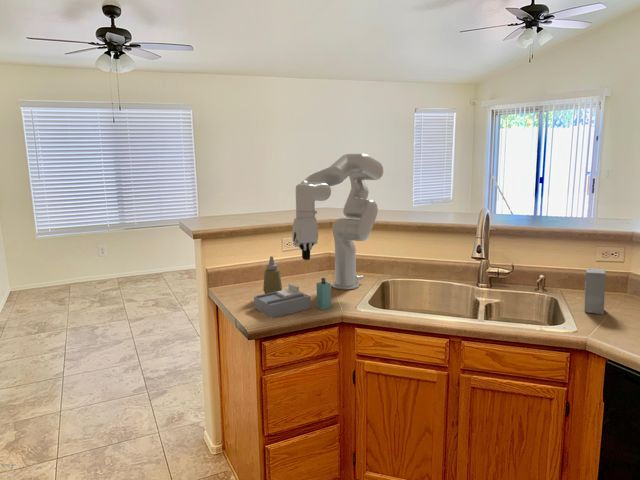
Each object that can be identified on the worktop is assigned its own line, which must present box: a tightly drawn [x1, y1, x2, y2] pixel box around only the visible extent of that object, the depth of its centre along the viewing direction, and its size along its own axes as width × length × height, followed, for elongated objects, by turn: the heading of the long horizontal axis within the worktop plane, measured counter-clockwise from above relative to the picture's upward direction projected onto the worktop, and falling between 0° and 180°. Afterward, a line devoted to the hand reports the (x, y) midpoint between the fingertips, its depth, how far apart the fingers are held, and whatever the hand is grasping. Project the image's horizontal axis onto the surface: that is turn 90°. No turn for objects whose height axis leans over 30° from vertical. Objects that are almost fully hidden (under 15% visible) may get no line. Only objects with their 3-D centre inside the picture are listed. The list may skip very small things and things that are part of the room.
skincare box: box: [584, 268, 607, 315], centre depth 177 cm, size 8×7×16 cm
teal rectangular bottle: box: [316, 277, 332, 310], centre depth 186 cm, size 4×4×12 cm
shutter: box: [277, 283, 301, 298], centre depth 187 cm, size 7×7×3 cm
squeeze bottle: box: [263, 256, 283, 294], centre depth 199 cm, size 8×8×18 cm
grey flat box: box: [253, 288, 312, 319], centre depth 186 cm, size 18×14×6 cm
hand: (306, 259), depth 190 cm, fingers closed
